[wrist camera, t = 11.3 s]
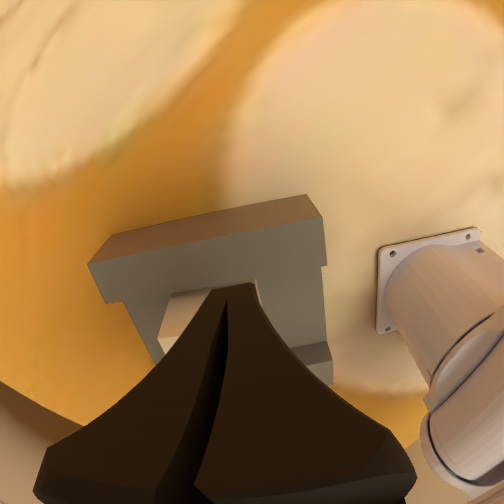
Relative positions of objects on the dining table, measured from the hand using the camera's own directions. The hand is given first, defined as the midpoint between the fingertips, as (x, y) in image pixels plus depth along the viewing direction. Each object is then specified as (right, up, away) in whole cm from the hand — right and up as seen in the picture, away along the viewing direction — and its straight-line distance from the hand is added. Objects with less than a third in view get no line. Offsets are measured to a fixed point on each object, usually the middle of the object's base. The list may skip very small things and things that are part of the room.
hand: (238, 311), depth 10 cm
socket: (-1, -2, +12) cm, 12 cm away
